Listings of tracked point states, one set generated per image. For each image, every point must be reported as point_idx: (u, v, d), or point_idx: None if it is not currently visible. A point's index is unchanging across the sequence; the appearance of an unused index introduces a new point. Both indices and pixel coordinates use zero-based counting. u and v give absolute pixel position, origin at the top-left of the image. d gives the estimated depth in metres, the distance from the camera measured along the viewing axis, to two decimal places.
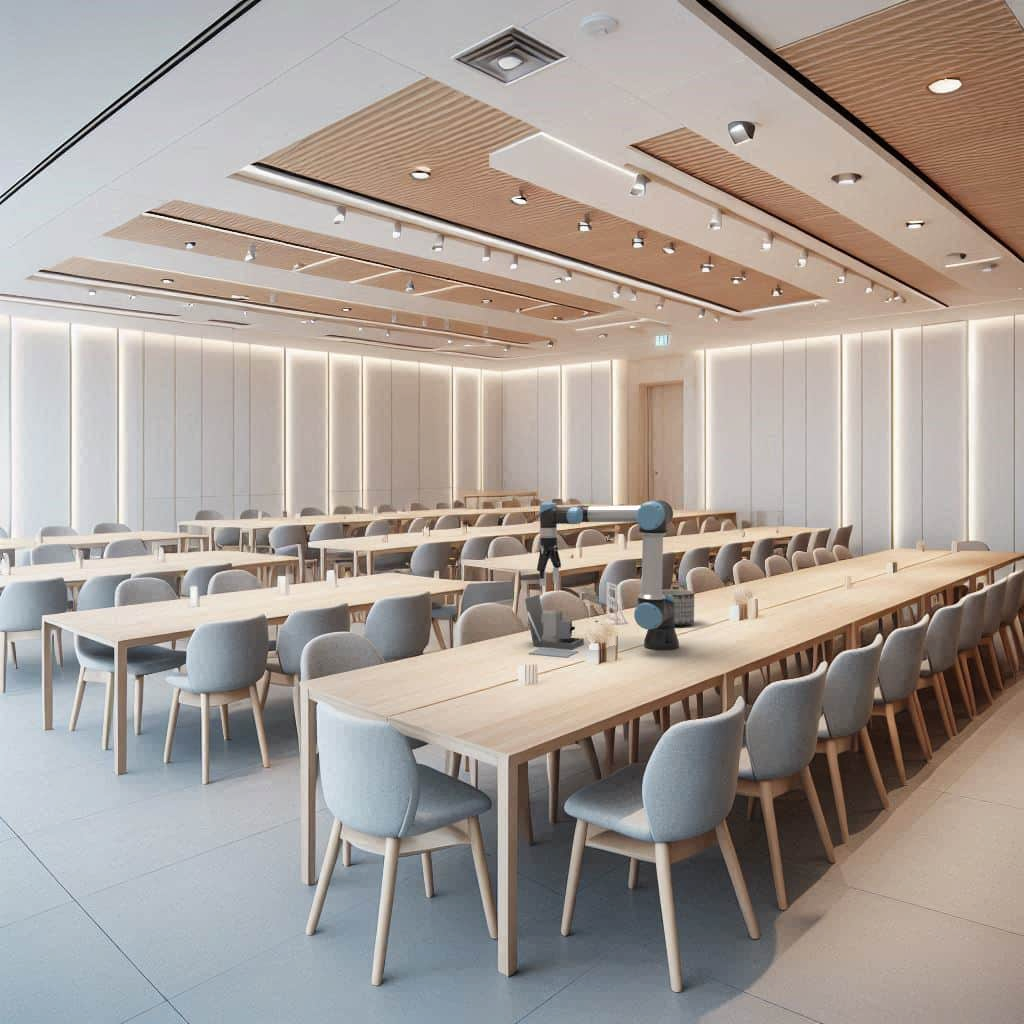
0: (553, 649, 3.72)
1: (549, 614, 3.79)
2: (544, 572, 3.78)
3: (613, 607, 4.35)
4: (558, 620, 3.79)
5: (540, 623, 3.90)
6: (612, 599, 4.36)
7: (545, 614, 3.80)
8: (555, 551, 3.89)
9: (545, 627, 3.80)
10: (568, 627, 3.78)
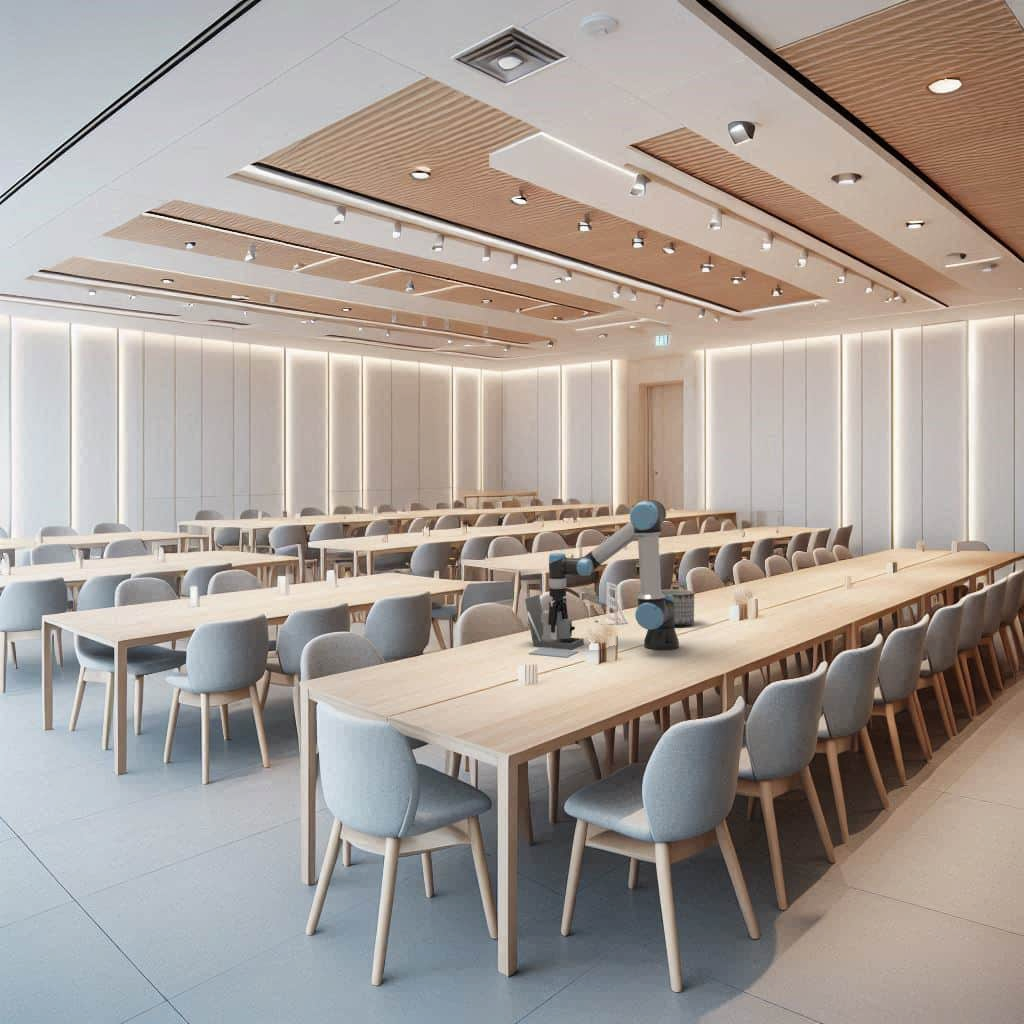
0: (553, 649, 3.72)
1: None
2: (555, 626, 3.77)
3: (613, 607, 4.35)
4: (558, 620, 3.79)
5: (540, 623, 3.90)
6: (612, 599, 4.36)
7: (545, 614, 3.80)
8: (563, 602, 3.87)
9: (545, 627, 3.80)
10: (568, 627, 3.78)
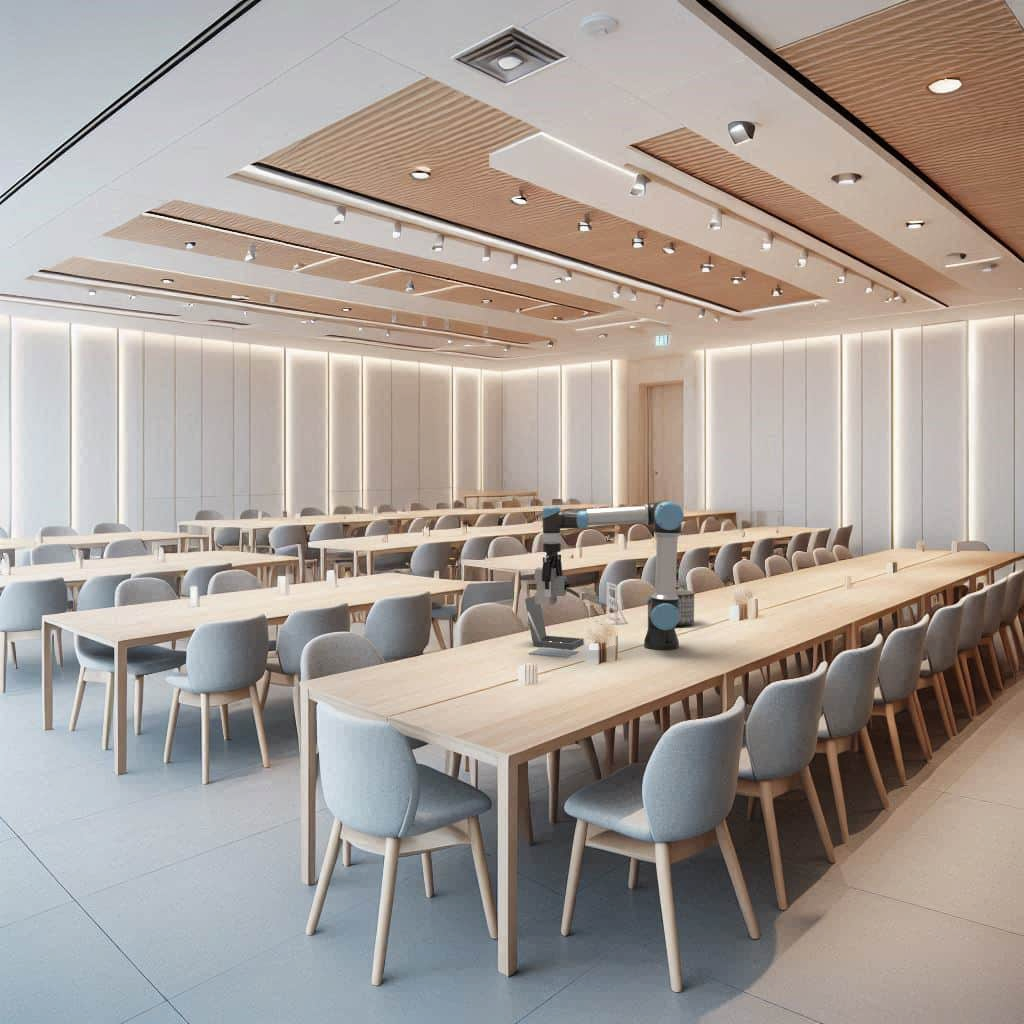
0: (553, 649, 3.72)
1: None
2: (549, 582, 3.60)
3: (613, 607, 4.35)
4: (552, 576, 3.61)
5: (540, 623, 3.90)
6: (612, 599, 4.36)
7: (538, 570, 3.62)
8: (558, 559, 3.69)
9: (538, 584, 3.62)
10: (562, 584, 3.60)
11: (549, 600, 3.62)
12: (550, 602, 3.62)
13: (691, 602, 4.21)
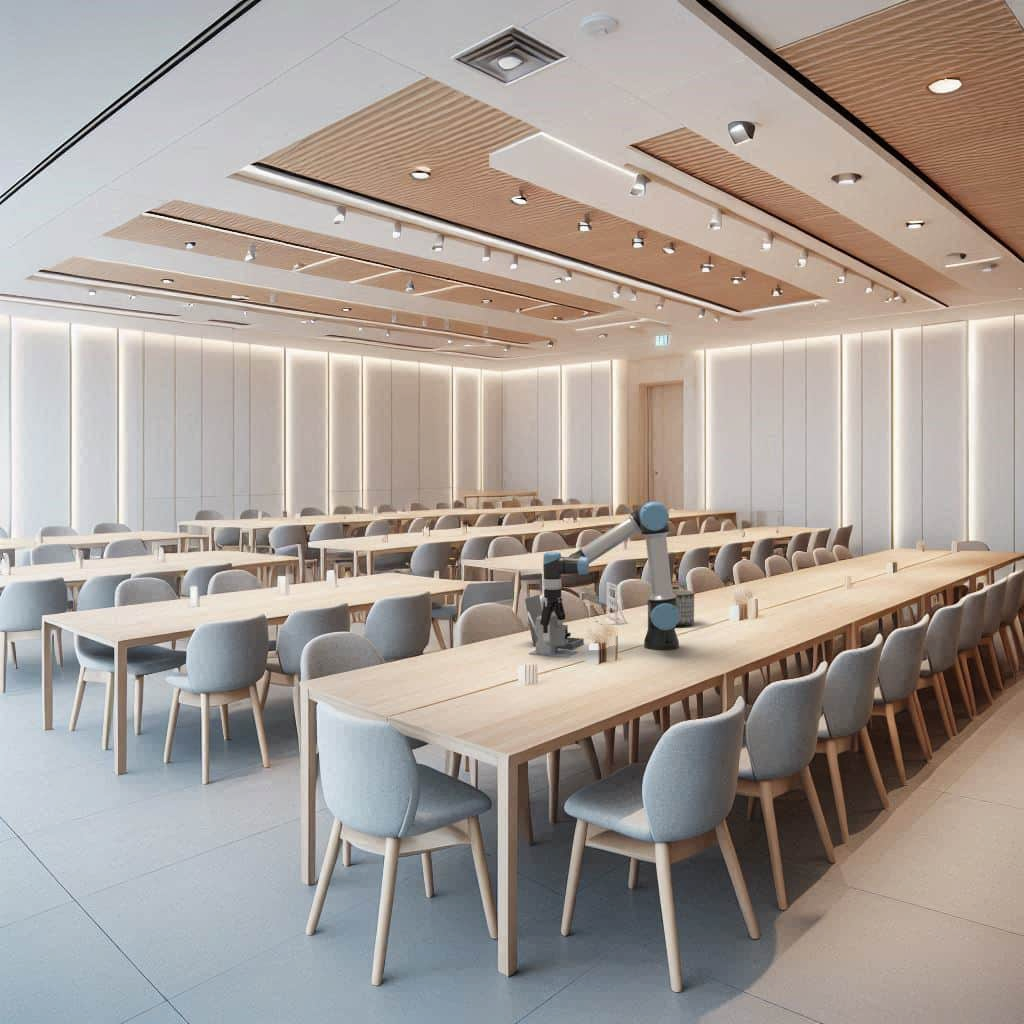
0: None
1: None
2: (548, 626, 3.59)
3: (613, 607, 4.35)
4: (553, 626, 3.62)
5: None
6: (612, 599, 4.36)
7: (539, 620, 3.63)
8: (559, 602, 3.70)
9: (539, 633, 3.64)
10: (563, 633, 3.61)
11: (550, 649, 3.63)
12: (551, 652, 3.63)
13: (691, 602, 4.21)
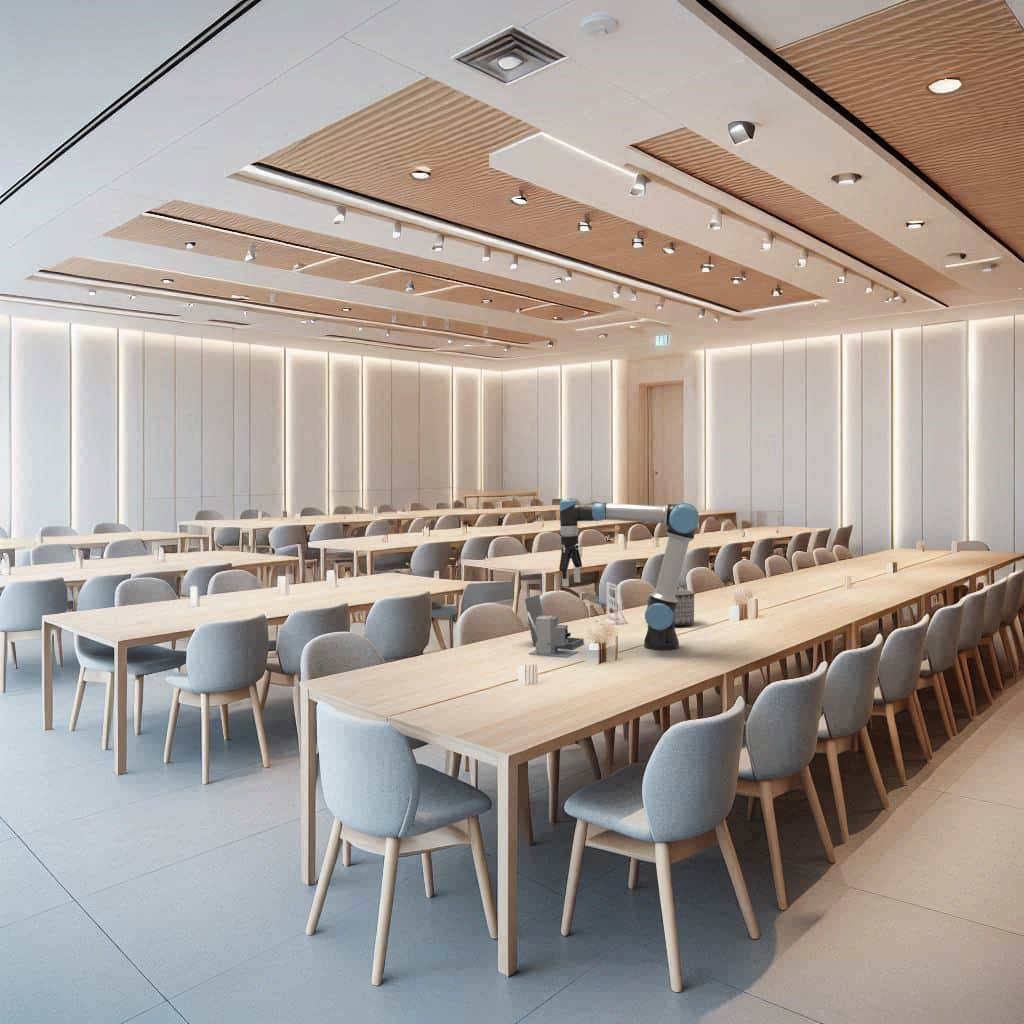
0: None
1: (543, 620, 3.63)
2: (566, 572, 3.63)
3: (613, 607, 4.35)
4: (553, 626, 3.62)
5: None
6: (612, 599, 4.36)
7: (539, 620, 3.63)
8: (576, 550, 3.74)
9: (539, 633, 3.64)
10: (563, 633, 3.61)
11: (550, 649, 3.63)
12: (551, 652, 3.63)
13: (691, 602, 4.21)
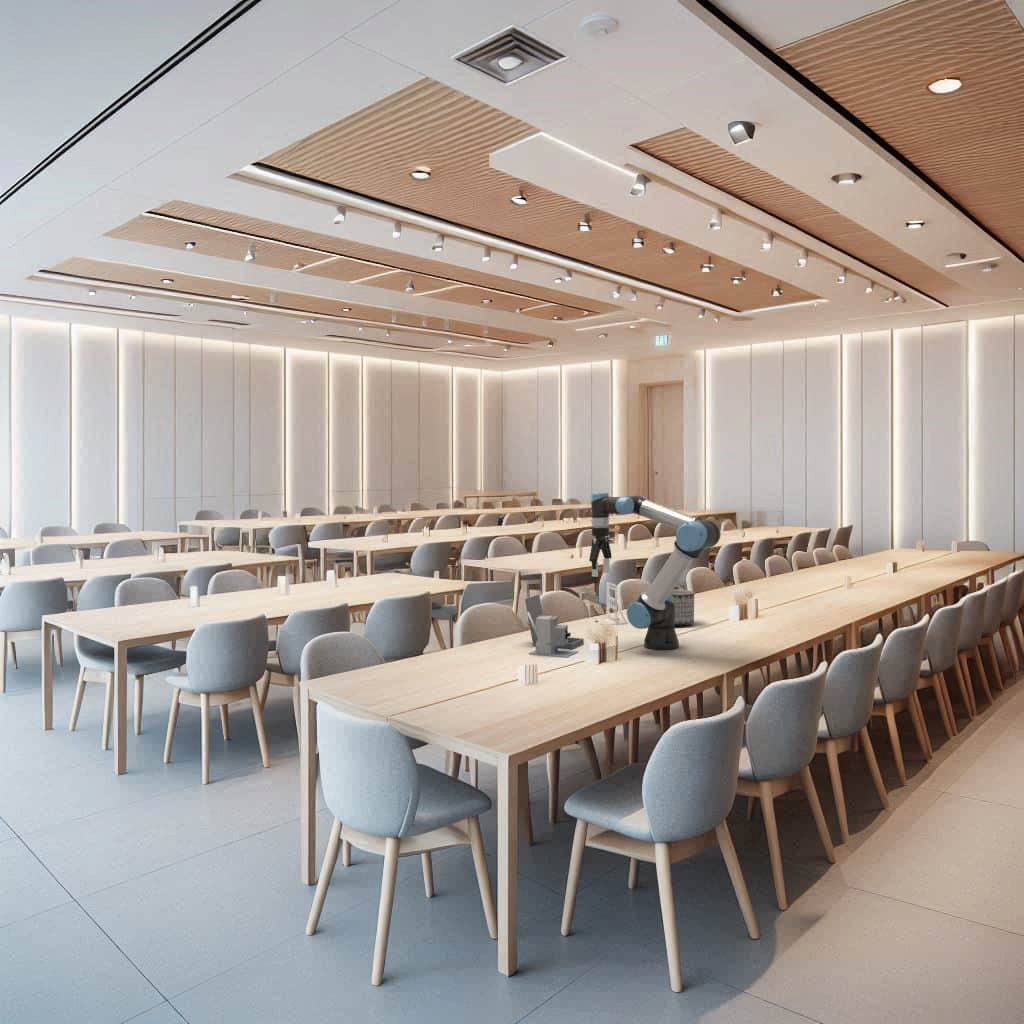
0: None
1: (543, 620, 3.63)
2: (596, 562, 3.72)
3: (613, 607, 4.35)
4: (553, 626, 3.62)
5: None
6: (612, 599, 4.36)
7: (539, 620, 3.63)
8: (606, 541, 3.83)
9: (539, 633, 3.64)
10: (563, 633, 3.61)
11: (550, 649, 3.63)
12: (551, 652, 3.63)
13: (691, 602, 4.21)
